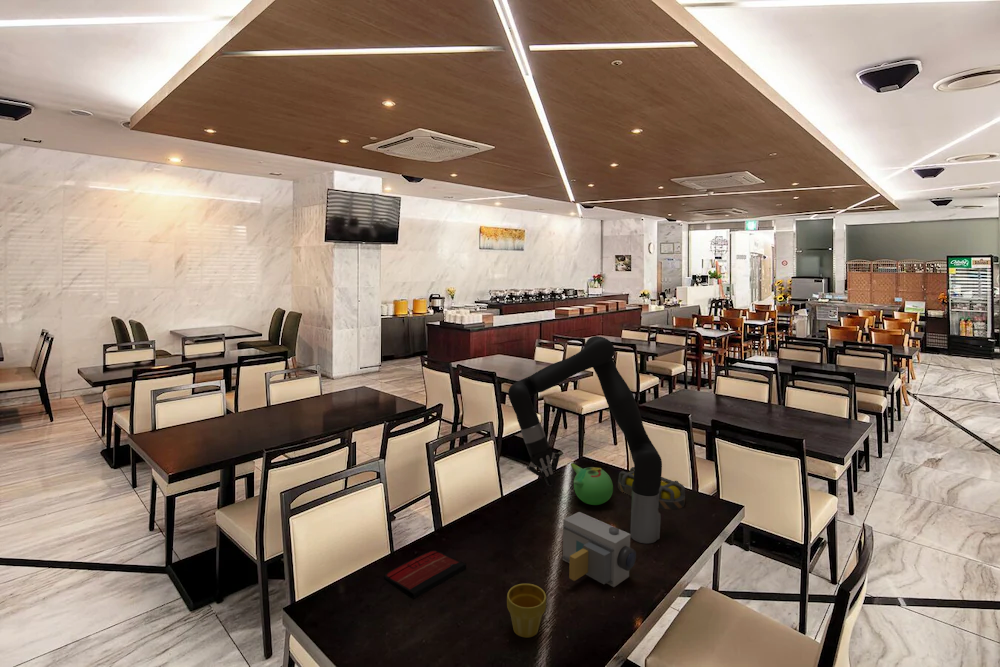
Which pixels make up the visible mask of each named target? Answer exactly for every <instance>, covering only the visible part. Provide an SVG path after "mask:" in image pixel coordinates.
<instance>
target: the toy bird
mask: <svg viewBox="0 0 1000 667" xmlns="http://www.w3.org/2000/svg"><path fill="white" fill-rule="evenodd" d="M570 466H571V468H572V469H573V471H574V472H575V474H576V475H575V476H574V479H573V489H574V492H575V495H576V496H577V498H578V499H579V500H580V501H581V502H583V503H584V504H587V505H590V506H591V505H592V506H599V505H600V506H601V505H602V504H605V503H606V502H608V501H609V500H610V499H611V497H612V495H613V492H614V485H613V481H612V479H611V477H610V475H609V474H608V473H607V472H606V471H605V470H604V469H603V468H601V467H594V466H590V467H585V468H582V467H581V466H578V465H577V464H575V463H573V462H571V463H570Z"/></svg>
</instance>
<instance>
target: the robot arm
mask: <svg viewBox="0 0 1000 667" xmlns="http://www.w3.org/2000/svg"><path fill="white" fill-rule="evenodd" d="M614 355H615V346H614V344H613V342H612V341H610V340H609V339H608V338H605V337H602V336H599V335H596V336H595V335H594V336H592V337H589V338H588V339H587V340H586V341H585V344H584V347H583V349H582V350H580V351H579V352H577V353H575V354H573V355H572V356H569V357H567V358H564V359H563V360H560V361H557V362H554V363H552V364H549V365H546V366H545V367H543V368H542V369H539V370H538V371H536V372H534V373H533V374H531V375H529V376H527V377H525V378H522V379H520V380H518V381H515V382H514V383H513V384H511V385H510V387H509V389H508V390H507V391H508V392H507V394H508V400H509V402H510V404H511V406H512V409H513V410H514V414H515V416H516V420H517V423H518V425H519V428H520V431H521V436H522V438H523V442H524V444H525V447H526V449H527V453H528V456H529V460H530V463H529V464H528V466H527V465H526V470H527V471H530V472H531V473H533V474H535V475H536V476H538V477H541V478H543V479H544V481H545V482H546V485H547V486H549V487H553V486H555V485H556V479H555V476H554V472H555V471H557V469H558V465H559V462H560V461H559V460H560V457H561V455H560V453H557V452H553V450H552V449H551V448H550V444H549V440H548V438H547V436H546V433H545V431H544V430H545V429H544V428H543V425H542V424H541V422H540V419H539V416H538V414H537V411H536V409H535V407H534V404H533V402H532V399H531V397H533V396H535V395H536V394H538V393H543V392H545V391H547V390H549V389H551V388H553V387H555V386H556V385H559V384H560V383H562V382H564V381H566V380H567V379H570V378H571V377H573V376H576V375H577V374H580V373H582V372H585V371H586V370H589V369H593V370H594V372H595V374H596V376H597V378H598V381H599V384H600V386H601V391H602V393H603V396H604V398H605V400H606V404H607V405H608V408H609V410H610V413H611V415H612V417H613V419H614V421H615V423H616V424H617V426H618V427H619V429H620V430H621V432H622V434H623V435H624V438H625V439H626V443H627V444H628V445H627V446H628V448H629V452H630V455H631V458H632V462H633V465H634V466H633V467H634V481H633V482H632V496H631V502H630V503H631V505H630V506H631V507H630V508H631V509H630V530H629V531H630V533H629V534H631V535H630V539H632V540H633V541H635V542H637V543H640V544H653V543H655V542H656V541H658V540H660V535H661V519H662V517H661V512H659V507H658V506H659V488H660V486H661V477H662V472H663V471H662V470H663V461H662V457H661V456H660V454H659V451H658V450H657V449H656V447H655V446H654V444H653V442H652V441H651V439H650V437H649V436H648V433H647V432H646V429H645V427H644V424H643V423H644V422H643V419H642V416H641V412H640V409H639V406H638V404H637V401H636V399H635V397H634V394H633V393H632V391H631V389H630V387H629V386H628V384H627V382H626V381H625V379H624V378H623V377H622V375H621V374H620V372H619V370H618V368H617V365H616V364H615V361H614V358H613V357H614ZM536 467H537V468H538V469H539V470H538V469H536Z"/></svg>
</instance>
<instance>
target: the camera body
mask: <svg viewBox="0 0 1000 667" xmlns="http://www.w3.org/2000/svg"><path fill="white" fill-rule="evenodd" d="M562 520H563V523H562V524H563V525H562V526H563V528H562V530H563V531H562V532H563V533H562V535H563V537H562V561H564V562H566V563H568V564H569V562H570V556H571V555H572V554H574V553H576V552H578V551H579V550H581V549H583V545H585V544H586V543H588V542H592V543H594V544H596V545H598V546H600V547H602V548H604V549H606V550H608V551H610V552H611V577H610V581H608V582H607V583H606V584H607V585H608V586H611V587H613V588H615V587H616V586H618V585H619V584H621V583H622V582H623V581H625V580H627V579H628V578H629V577H630V570H631V569H633V567H634V565H635V564H636V560H637V551H636V550H635V549H634V548H632V547H631V536H630V535H631V534H630V533H629V532H627V531H624V530H623V529H620V528H618V527H616V526H613V525H611V524H609V523H606V522H604V521H602V520H600V519H599V520H598V519H597V518H594V517H592V516H590V515H588V514H585V513H583V512H581V511H578V512H576V513H574V514H572V515H570V516H567V517H565V518H563V519H562Z"/></svg>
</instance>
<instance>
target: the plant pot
mask: <svg viewBox="0 0 1000 667" xmlns="http://www.w3.org/2000/svg"><path fill="white" fill-rule="evenodd" d="M546 607H547V593H546V592H545V591H544V590H543V589H542V588H541V587H540V586H538V585H536V584H532V583H519V584H515V585H513V586H512V587H510V589H509V590H508V592H507V594H506V608H507V610H508V612H509V614H510V617H511V618H510V620H511V624H512V628H513V629H512V630H513V632H514V633H515V634H516V636H518V637H522V638H532V637H535V636H536V635H537V634H538V632H539V630H540V625H541V621H542V616H543V614H544V613H545V611H546V610H547V608H546Z"/></svg>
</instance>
